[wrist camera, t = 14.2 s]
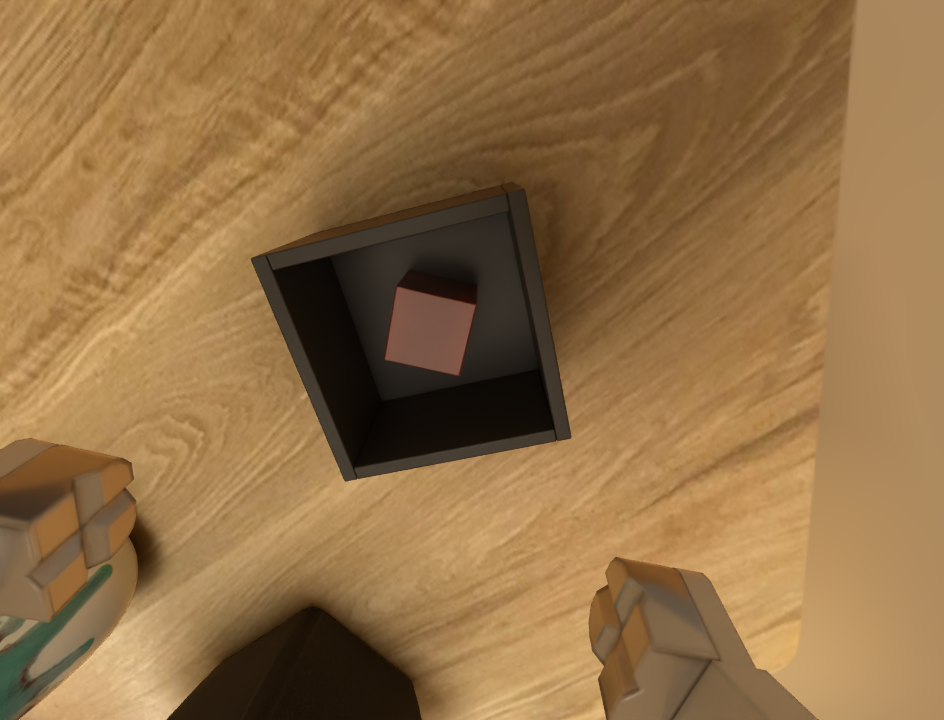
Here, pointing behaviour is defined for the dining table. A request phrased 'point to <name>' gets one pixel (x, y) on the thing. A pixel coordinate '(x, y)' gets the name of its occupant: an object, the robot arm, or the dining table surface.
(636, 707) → the robot arm
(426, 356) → the block
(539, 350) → the basket
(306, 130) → the dining table surface
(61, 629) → the vase
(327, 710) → the flower pot
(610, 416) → the dining table surface
